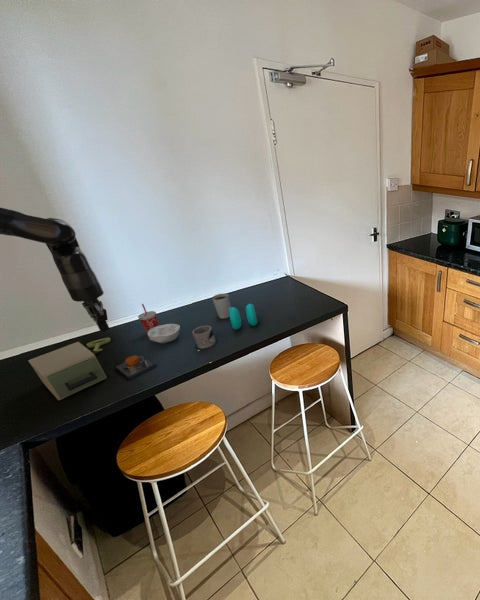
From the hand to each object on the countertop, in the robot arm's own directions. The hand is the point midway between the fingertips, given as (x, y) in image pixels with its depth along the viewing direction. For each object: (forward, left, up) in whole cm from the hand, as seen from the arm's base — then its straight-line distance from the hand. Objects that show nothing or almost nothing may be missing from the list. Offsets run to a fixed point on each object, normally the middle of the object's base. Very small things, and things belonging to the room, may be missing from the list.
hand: (105, 330), depth 106 cm
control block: (+2, -3, -17) cm, 17 cm away
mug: (+25, -8, -17) cm, 32 cm away
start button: (+2, -3, -14) cm, 15 cm away
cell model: (+17, +7, -17) cm, 25 cm away
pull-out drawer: (-12, +3, -16) cm, 20 cm away
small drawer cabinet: (-12, +7, -17) cm, 21 cm away
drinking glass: (+42, +6, -17) cm, 46 cm away
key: (0, +25, -17) cm, 30 cm away
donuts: (+41, -11, -17) cm, 46 cm away
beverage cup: (+17, +18, -17) cm, 30 cm away
